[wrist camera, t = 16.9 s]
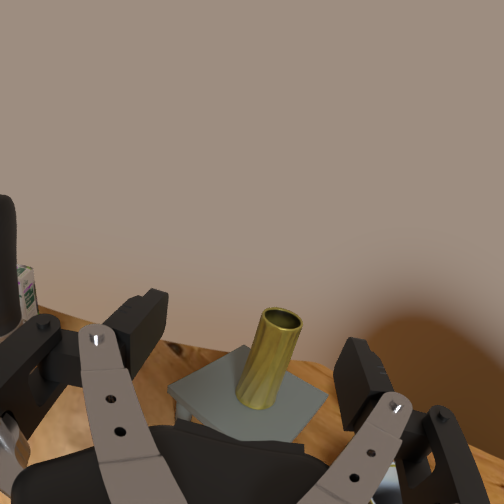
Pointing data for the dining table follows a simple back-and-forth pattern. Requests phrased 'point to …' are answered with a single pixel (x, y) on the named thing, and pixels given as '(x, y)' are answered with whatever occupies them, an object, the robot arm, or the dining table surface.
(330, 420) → the dining table surface
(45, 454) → the dining table surface
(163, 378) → the dining table surface
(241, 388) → the vase
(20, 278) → the syrup box
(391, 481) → the ceramic cup
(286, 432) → the stool
